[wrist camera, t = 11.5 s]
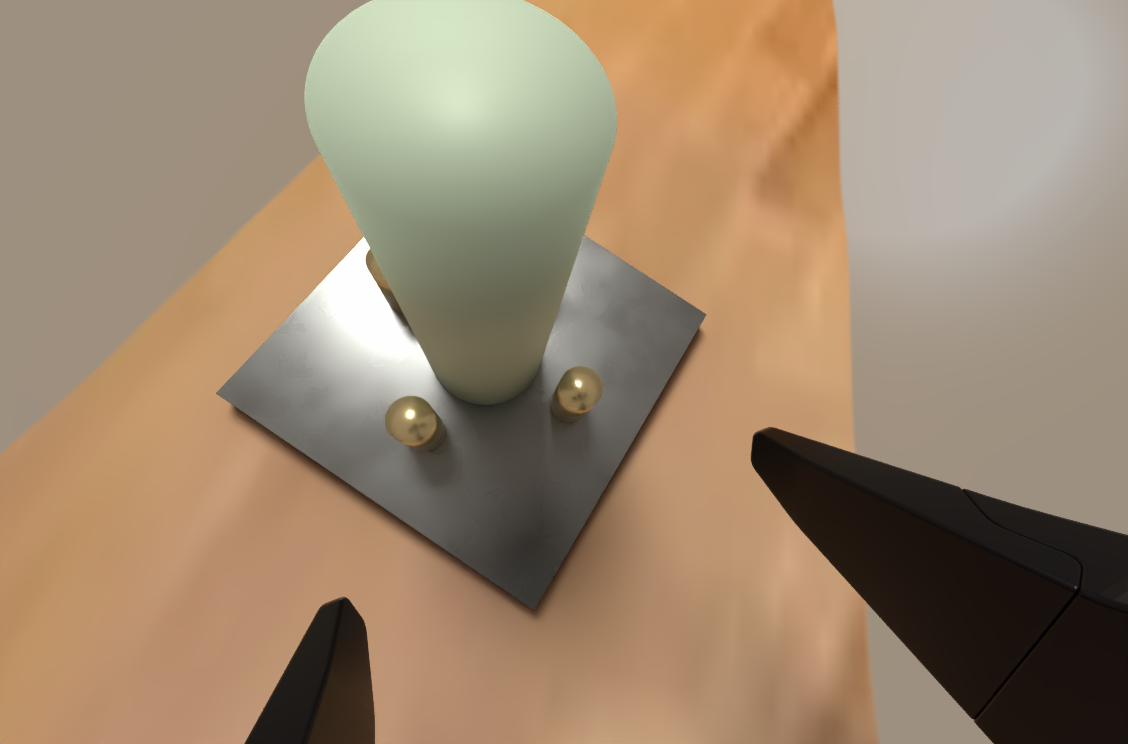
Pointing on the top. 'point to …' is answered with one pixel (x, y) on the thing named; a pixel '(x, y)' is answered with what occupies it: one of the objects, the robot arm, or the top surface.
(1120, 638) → the robot arm
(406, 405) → the chassis plate
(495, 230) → the mint green tapered post
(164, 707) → the top surface
